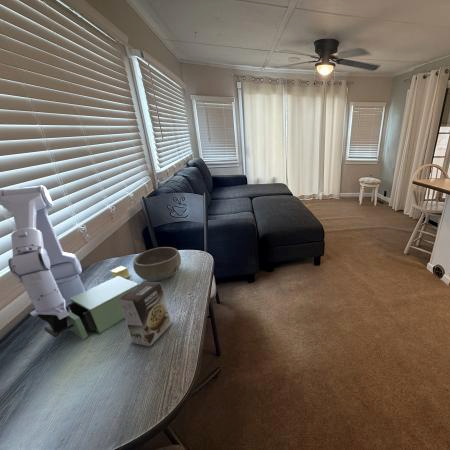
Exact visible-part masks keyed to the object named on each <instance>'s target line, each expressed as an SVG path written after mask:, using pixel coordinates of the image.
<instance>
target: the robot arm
mask: <svg viewBox="0 0 450 450" xmlns="http://www.w3.org/2000/svg"><path fill="white" fill-rule="evenodd" d="M0 205H1V206H2V207H3V208H4V209H6V211H7V212H8V213H11V214H12V216H13V220H14V224H15V229H16V230H15V231H13V232H12V233H11V236H10V237H11V248H12V249H11V250H12V257H10V258H9V259H8V260H7V263H8V265H7V266H8V269H9V271H10V272H11V275H13V277H14V278H16V280H17V282H18V283H19V284H22V286H23V287H24V289H25V292H26V294H27V296H28V297H29V300H30V302H31V304H32V306H33V308H34V310H32V311H30V312H29V315H30V316H32V317H38V318H39V319H41V320H43V321H45V322H46V323H47V324H48V325H49V326H51V327H52V328H53V329H55V330H56V331H58V332H59V331H60V330H62V329H64V328H66V327H67V316H68V315H69V314H68V311H70V308H69V306H68V305H69V304H71V300H70V298H72V297H74V296H76V295H78V294H81V293H83V292H85V291H86V290H85V287H84V284H83V282H82V279H81V277H80V275H81V274H82V271H83V268H82V265H81V262H80V260H79V259H78V258H77V257H78V256H77V255H76V254H75V253H71V252H65V251H64V249H63V246H62V245H61V242H60V240H59V238H58V235H57V233H56V230H55V228H54V226H53V223H52V221H51V218H50V216H49V210H50V209H52V208H54V202H53V200H52V198H51V194H50V192H49V190H48V189H47V188H46V186H44V185H37V186H26V187H17V188H8V189H0Z"/></svg>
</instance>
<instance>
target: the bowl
mask: <svg viewBox="0 0 450 450" xmlns="http://www.w3.org/2000/svg"><path fill="white" fill-rule="evenodd" d="M181 265H182V257H181V254H180V252H179V250H178V249H177V248H175V247H172V246H170V247H169V246H161V247H160V246H159V247H156V248H151V249H148V250H145V251H143V252H140V253H139V254H138V255H136V256H135V257H134V258H133V262H132V267H133V270H134V273H135V274H136V275H137V276H138V277H139V278H141V279H142V280H144V281H146V282H158V281H162V280H166V279H168V278H170V277H172V276H173V275H175V274H176V273H177V272H178V271H179V269H180V267H181Z"/></svg>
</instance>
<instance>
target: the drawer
mask: <svg viewBox="0 0 450 450" xmlns="http://www.w3.org/2000/svg"><path fill="white" fill-rule="evenodd" d="M67 307H69V311H68V314H69V315H68V316H67V327H66V328H64V329H62V330H60V331H59V332H58V331H56V330H55V329H53V328H52V327H51V326H50V325H46V326H45V327H44V330H43V331H44V332H46V333H47V334H48V335H50V336H52V337H53V338H58V337H60V335H61V334H62V333H64V332H66V331H68V330H69V331H71V332H72V333H74V334H75V335H77V336H78V337H80V338H81V339H82V340H85V338H87V337H88V333H87V331H86V330H88V331H90V332H94V331H96V330H95V329H97V328H96V325H95V323H94V321H93V318H92V316H91V313H90V311H88V310H87V309H85V308H83V307H81V306H80V305H78V304H76V303H74V302H73V303H71V304H69V305H68V306H67Z"/></svg>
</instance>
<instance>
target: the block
mask: <svg viewBox="0 0 450 450" xmlns="http://www.w3.org/2000/svg"><path fill="white" fill-rule="evenodd" d="M110 274H111V277H112V279H113V278H115V277H117V276H120V277H123V278H125V279H128V278H130V277H131V276H130V273H129V270H128V268H127V267H125V266H122V265H120V266H118V267H114V268H113V269H111V270H110Z"/></svg>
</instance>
